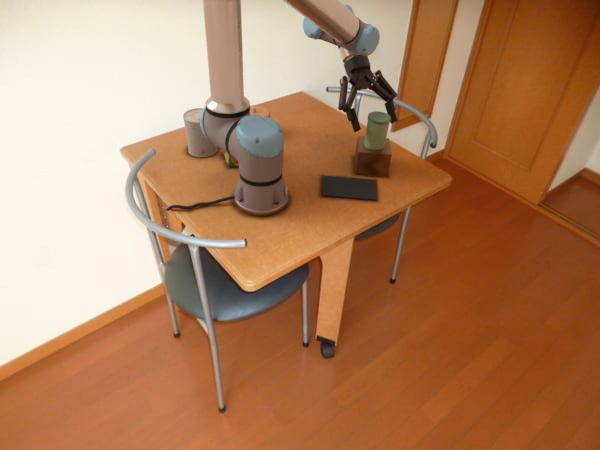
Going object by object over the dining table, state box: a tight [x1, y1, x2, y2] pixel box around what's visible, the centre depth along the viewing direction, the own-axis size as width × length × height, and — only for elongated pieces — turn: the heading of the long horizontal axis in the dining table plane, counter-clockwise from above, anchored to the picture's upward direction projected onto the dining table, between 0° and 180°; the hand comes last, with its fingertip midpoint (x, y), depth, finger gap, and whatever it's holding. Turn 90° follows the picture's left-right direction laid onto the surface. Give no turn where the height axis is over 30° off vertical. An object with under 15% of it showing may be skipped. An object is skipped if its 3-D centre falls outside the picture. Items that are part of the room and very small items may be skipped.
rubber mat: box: [321, 175, 378, 202], centre depth 125 cm, size 16×10×1 cm, turn 86°
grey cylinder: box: [182, 107, 219, 158], centre depth 134 cm, size 10×10×12 cm
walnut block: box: [353, 135, 393, 178], centre depth 132 cm, size 10×10×8 cm
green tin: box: [364, 111, 391, 150], centre depth 126 cm, size 7×7×10 cm
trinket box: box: [250, 105, 271, 118], centre depth 145 cm, size 11×11×9 cm
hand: (376, 126), depth 126 cm, fingers open, 13 cm apart
